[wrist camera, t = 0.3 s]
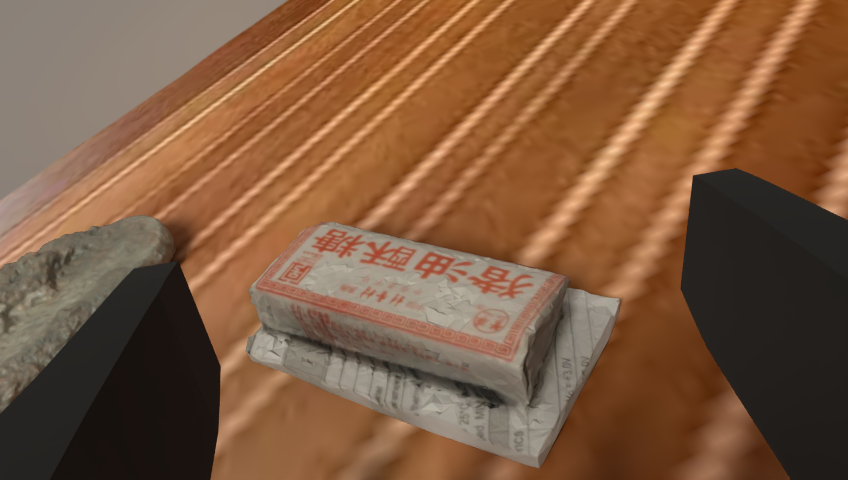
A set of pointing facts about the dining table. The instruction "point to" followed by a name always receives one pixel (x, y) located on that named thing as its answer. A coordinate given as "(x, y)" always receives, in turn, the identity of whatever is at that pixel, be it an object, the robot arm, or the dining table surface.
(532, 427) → the packaged product
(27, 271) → the long grey stone
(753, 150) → the dining table surface
